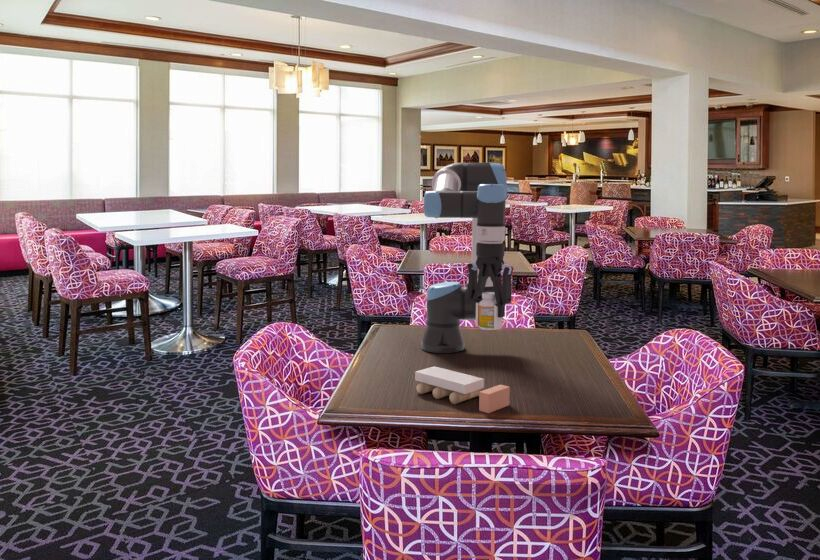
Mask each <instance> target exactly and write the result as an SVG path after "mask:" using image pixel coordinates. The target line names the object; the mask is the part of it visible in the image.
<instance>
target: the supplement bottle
mask: <svg viewBox="0 0 820 560" xmlns="http://www.w3.org/2000/svg"><path fill="white" fill-rule="evenodd" d="M482 298H483V300H482V301H480V303H479V326H478V328H479V329H481V330H483V331H484V330H485V331H494V306H495V304H497V302H496V297H495V292H484V293H482Z"/></svg>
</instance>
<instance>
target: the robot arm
mask: <svg viewBox="0 0 820 560" xmlns="http://www.w3.org/2000/svg"><path fill="white" fill-rule="evenodd" d="M507 182H508V181H507V174H506V168H505V166H504V165H503V163H498V162H490V161H489V162H455V163H450V164H447V165H445V166H443V167H441V168H440V169H438V170H437V171H436V172H435V173H434V175H433V177H432V179H431V189H432V190H428V191H427V190H426V191H425V192H424V195H423V214H424V216H425V217H426V218H435V219H439V218H441V219H445V218H448V219H449V218H451V219H452V218H453V219H454V218H455V219H456V218H457V219H458V218H460V219H472V222H471V223H472V224H471V225H472V227H471V262H470V263H467V269H468V279H467V281H466V286H463V285H462V284H461V282H459V281H445V282H437V283H434V284H431V285H429V287H427V290H426V298H425V299H426V328H425V331H424V333H423V337H422V340H421V345H420V346H421V349H422V350H423V351H424V352H428V353H435V354H454V352H455V353H460V352H462V351H464V350H465V341H464V339H463V334H462V332H461V327H460V323H461V321H463V320H465V321H467V320H468V321H475V327H478V328H479V303H480V301H482V300H483V298H482V293H484V292H495V297H496V302H497V304H495V306H494V330H495V331H497V330H500V329H503V318H504V317H505V309H506V308H505V307H506V305H508V304H511V303H512V276H513V275H512V274H513V271H514V267H513V266H509V265H507V264H505V262H504V256H505V243H504V242H505V241H506V221H505V220H506V203H507V201H506V199H507V198H508V185H507V184H508V183H507ZM494 330H493V331H494ZM459 351H460V352H459Z"/></svg>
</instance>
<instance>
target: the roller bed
mask: <svg viewBox="0 0 820 560" xmlns="http://www.w3.org/2000/svg"><path fill="white" fill-rule="evenodd" d="M416 391H417V393H418V394H420V395H424V394H427V393H429V392H432V396H433V398H435V399H436V400H440V399H442V398H445V397H448V396H449V398H448V399H449V401H450V403H451V404H452V405H457V404H459V403H462V402H464V401H467V400H471V399H473V398H476V397H479V392H480V391H482V389H479V390H476V391H473V392H470V393H467V394H463V393H459V392H455V391H452V390H448V389H445V388H441V387H437V386H434V385H430V384H427V383H423V382H420V383H418V384H417V385H416Z"/></svg>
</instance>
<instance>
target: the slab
mask: <svg viewBox="0 0 820 560" xmlns="http://www.w3.org/2000/svg"><path fill="white" fill-rule="evenodd" d="M414 374H415V375H414V380H415V381H417V382H420V383H422V382H423V383H427V384H430V385H434V386H437V387H441V388H445V389H448V390H452V391H455V392H459V393H463V394H467V393H470V392H473V391H476V390H479V389H481V390H482V389H484V387H485V378H482V377H478V376H475V375H470V374H466V373H463V372H458V371H454V370H452V369H447V368H443V367H438V366H431V367H426V368H423V369H420V370H416V371H414Z"/></svg>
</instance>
